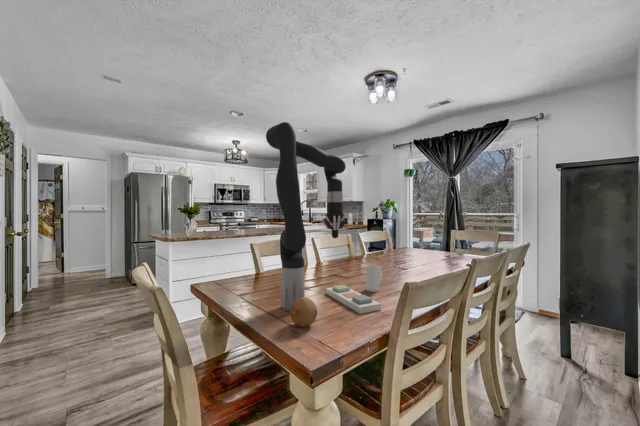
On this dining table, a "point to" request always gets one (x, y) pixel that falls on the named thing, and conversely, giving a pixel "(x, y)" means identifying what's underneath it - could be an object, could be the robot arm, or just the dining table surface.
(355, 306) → the button panel
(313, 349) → the dining table surface
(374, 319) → the dining table surface
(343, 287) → the green button
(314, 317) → the onion
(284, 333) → the dining table surface
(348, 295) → the terracotta button
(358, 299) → the grey button
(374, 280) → the mug
